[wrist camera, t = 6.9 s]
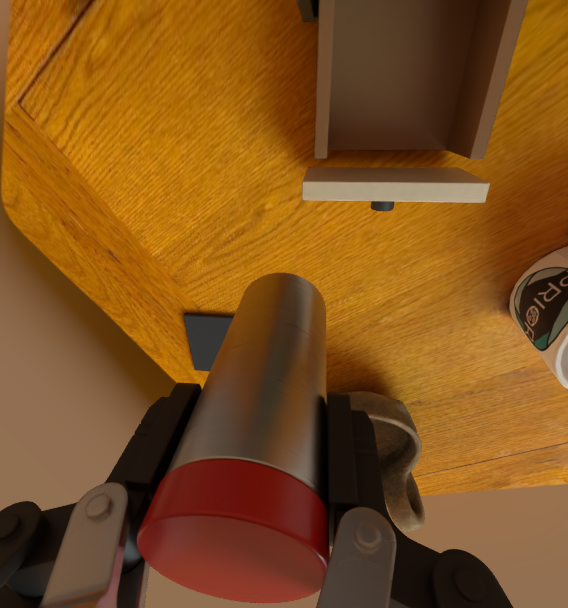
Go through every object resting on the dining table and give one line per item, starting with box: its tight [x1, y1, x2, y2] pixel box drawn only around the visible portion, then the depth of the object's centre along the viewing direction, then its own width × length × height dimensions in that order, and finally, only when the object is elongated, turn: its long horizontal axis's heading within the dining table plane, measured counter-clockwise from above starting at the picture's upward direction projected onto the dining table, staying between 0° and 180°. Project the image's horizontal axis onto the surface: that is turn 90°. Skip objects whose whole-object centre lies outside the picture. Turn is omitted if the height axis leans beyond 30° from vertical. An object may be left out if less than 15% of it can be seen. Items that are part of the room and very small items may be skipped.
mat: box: [183, 313, 234, 371], centre depth 37 cm, size 10×8×1 cm
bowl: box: [326, 391, 425, 531], centre depth 37 cm, size 14×18×10 cm
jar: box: [137, 273, 330, 603], centre depth 12 cm, size 4×4×11 cm
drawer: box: [302, 0, 528, 211], centre depth 20 cm, size 14×11×6 cm
